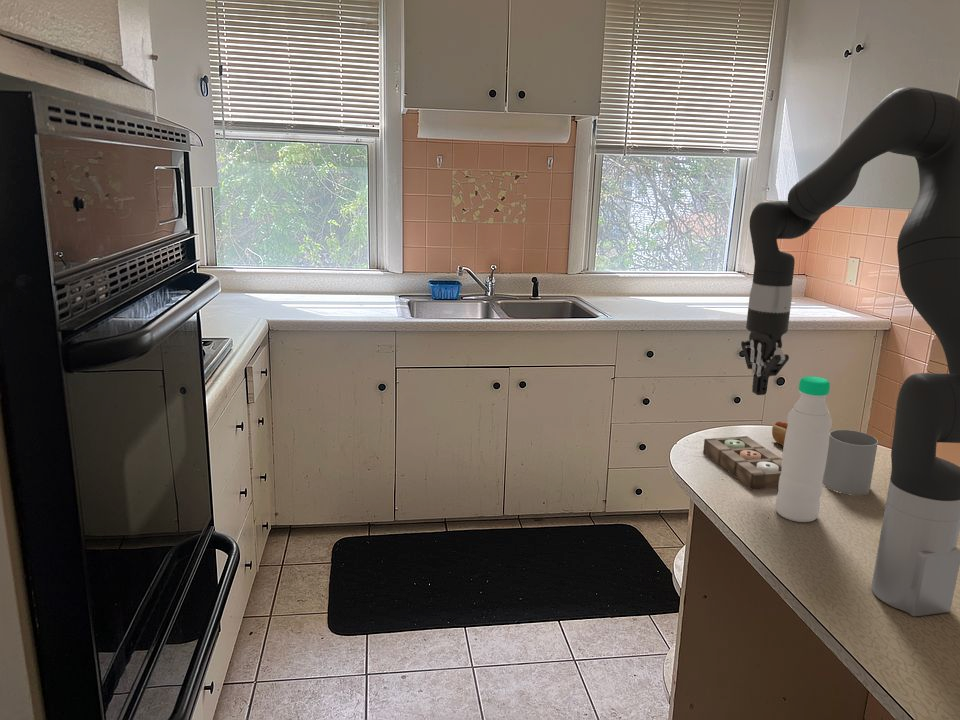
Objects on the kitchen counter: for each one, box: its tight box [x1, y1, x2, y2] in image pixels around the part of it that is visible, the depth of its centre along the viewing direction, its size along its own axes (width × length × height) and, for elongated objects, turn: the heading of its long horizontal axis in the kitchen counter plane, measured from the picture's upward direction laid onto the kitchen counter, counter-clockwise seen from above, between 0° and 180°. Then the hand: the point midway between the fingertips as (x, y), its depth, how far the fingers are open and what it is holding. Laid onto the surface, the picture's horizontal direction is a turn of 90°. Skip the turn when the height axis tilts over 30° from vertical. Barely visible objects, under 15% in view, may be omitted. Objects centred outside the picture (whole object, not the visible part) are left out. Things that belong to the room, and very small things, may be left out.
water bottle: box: [774, 375, 833, 523], centre depth 128 cm, size 7×7×25 cm
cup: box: [822, 429, 879, 496], centre depth 142 cm, size 8×8×10 cm
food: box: [771, 421, 788, 447], centre depth 160 cm, size 14×6×5 cm, turn 23°
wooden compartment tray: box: [703, 435, 782, 491], centre depth 151 cm, size 19×10×3 cm, turn 12°
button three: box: [740, 450, 761, 460], centre depth 151 cm, size 4×4×3 cm
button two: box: [724, 439, 745, 449], centre depth 156 cm, size 4×4×3 cm
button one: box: [757, 462, 779, 472], centre depth 145 cm, size 4×4×3 cm
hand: (758, 393), depth 147 cm, fingers closed
